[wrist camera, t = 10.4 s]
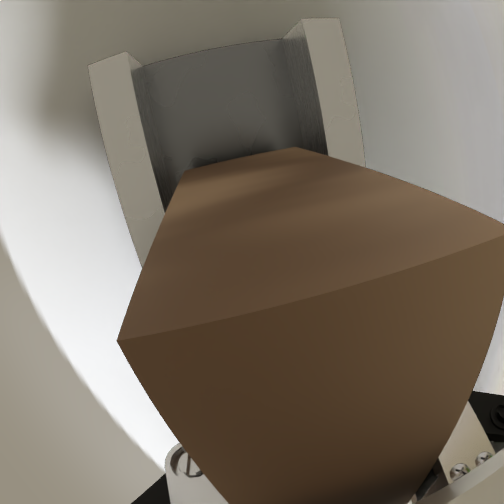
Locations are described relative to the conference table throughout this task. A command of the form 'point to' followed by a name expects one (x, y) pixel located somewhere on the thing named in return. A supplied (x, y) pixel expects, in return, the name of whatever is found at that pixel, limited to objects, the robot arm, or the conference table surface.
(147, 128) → the floor track
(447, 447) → the robot arm
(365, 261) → the door panel
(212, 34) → the conference table surface
